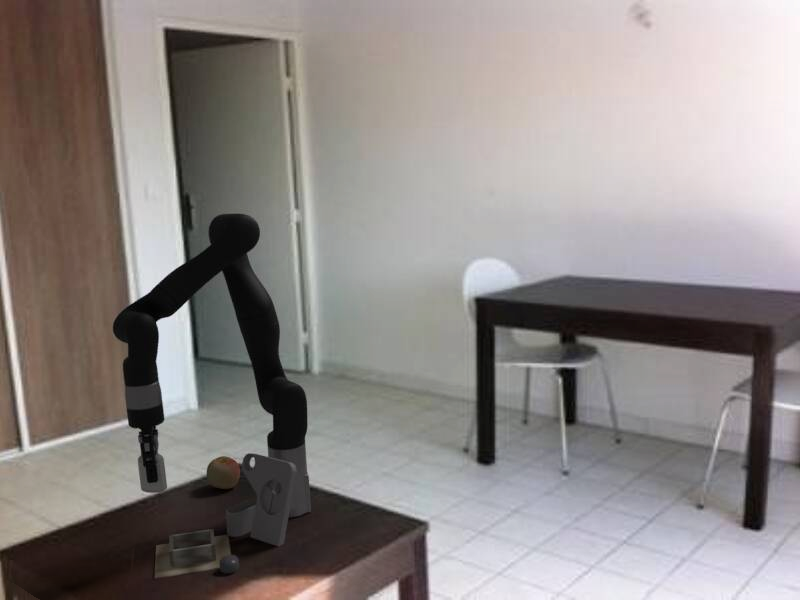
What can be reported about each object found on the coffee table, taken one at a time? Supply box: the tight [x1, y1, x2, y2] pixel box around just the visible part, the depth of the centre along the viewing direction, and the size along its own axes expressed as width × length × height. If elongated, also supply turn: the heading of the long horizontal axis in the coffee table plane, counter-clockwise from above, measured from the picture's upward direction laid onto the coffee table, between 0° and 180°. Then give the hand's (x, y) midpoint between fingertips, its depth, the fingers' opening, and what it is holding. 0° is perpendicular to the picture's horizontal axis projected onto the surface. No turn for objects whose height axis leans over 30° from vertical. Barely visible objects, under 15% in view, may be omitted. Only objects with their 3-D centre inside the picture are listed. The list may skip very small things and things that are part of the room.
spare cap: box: [219, 554, 240, 575], centre depth 176 cm, size 4×4×2 cm
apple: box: [206, 455, 241, 490], centre depth 224 cm, size 9×9×8 cm
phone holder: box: [225, 453, 297, 547], centre depth 191 cm, size 17×10×18 cm, turn 53°
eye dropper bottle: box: [137, 446, 168, 494], centre depth 182 cm, size 4×6×12 cm
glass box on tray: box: [154, 528, 232, 580], centre depth 183 cm, size 16×16×4 cm
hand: (153, 477), depth 182 cm, fingers closed on eye dropper bottle, 4 cm apart
